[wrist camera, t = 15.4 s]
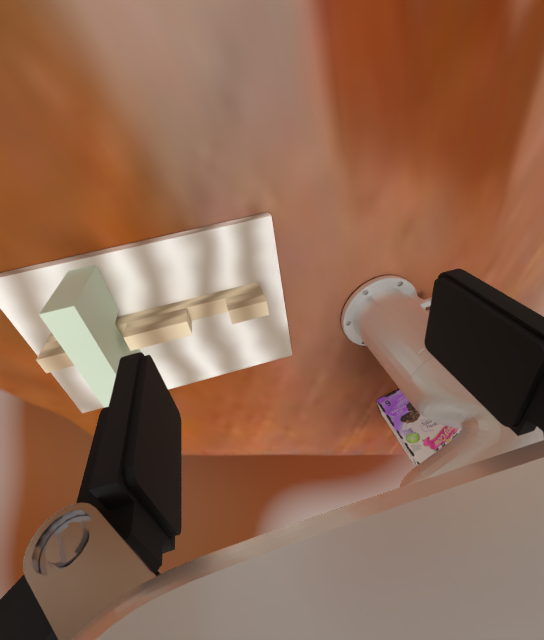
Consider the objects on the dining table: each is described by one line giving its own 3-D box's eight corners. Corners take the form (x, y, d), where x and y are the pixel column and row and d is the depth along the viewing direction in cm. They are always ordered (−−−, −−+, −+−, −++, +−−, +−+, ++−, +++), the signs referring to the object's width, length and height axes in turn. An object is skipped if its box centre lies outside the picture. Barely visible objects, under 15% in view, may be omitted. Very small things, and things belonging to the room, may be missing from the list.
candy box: (438, 368, 63) (506, 438, 50) (440, 385, 66) (505, 455, 53) (374, 399, 64) (425, 477, 50) (380, 415, 67) (430, 491, 54)
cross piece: (68, 271, 35) (38, 314, 28) (95, 264, 35) (74, 305, 28) (127, 373, 44) (116, 425, 37) (148, 367, 45) (142, 418, 38)
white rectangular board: (268, 212, 38) (282, 229, 33) (289, 349, 51) (302, 377, 46) (-14, 275, 35) (-48, 306, 30) (85, 405, 48) (73, 442, 42)
